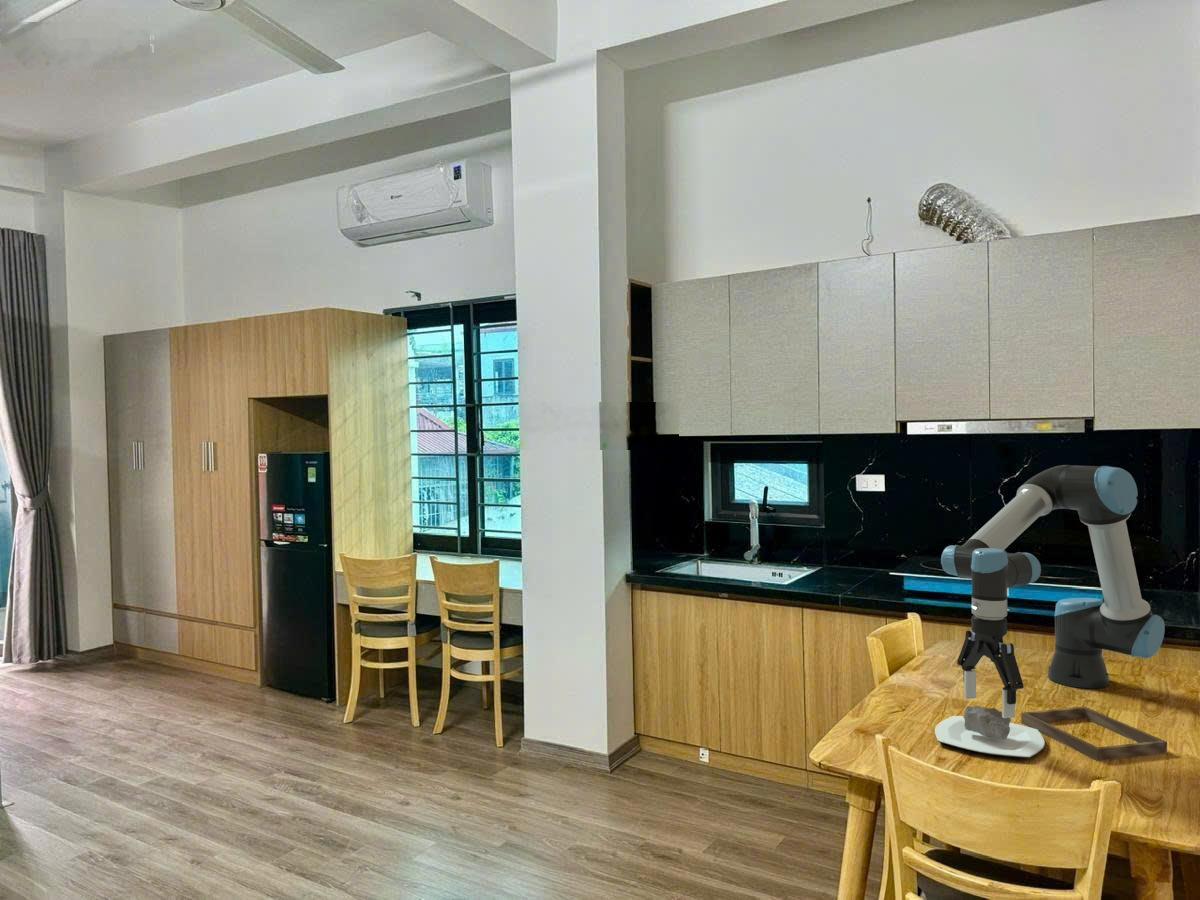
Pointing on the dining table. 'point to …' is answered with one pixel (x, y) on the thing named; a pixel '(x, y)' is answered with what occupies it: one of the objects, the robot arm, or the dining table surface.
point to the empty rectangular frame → (1146, 741)
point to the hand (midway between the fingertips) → (988, 707)
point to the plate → (990, 739)
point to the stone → (986, 722)
